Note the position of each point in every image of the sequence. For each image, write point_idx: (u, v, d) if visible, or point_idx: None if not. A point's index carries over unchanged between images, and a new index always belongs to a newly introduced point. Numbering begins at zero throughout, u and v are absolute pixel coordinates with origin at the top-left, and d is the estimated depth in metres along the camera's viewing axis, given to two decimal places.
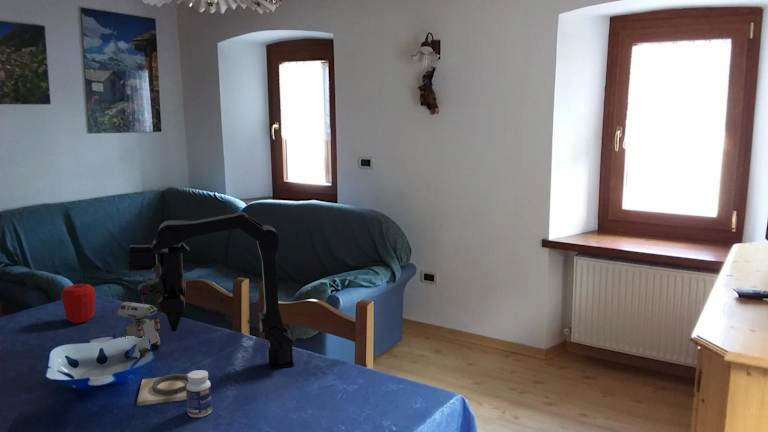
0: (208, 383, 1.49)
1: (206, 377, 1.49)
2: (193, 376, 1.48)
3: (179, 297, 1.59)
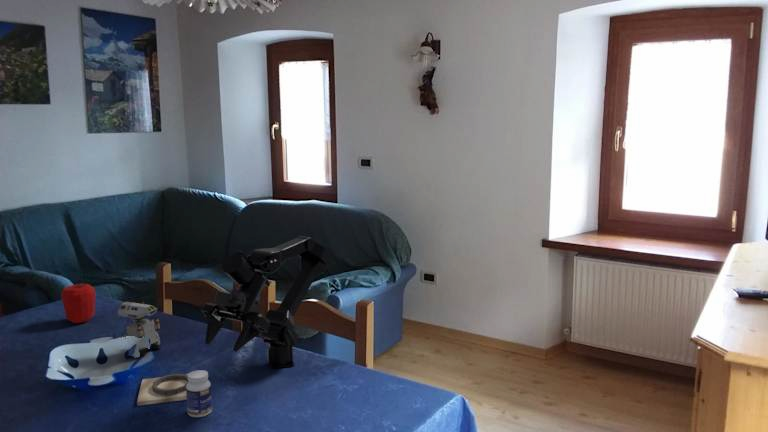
0: (208, 383, 1.49)
1: (206, 377, 1.49)
2: (193, 376, 1.48)
3: None
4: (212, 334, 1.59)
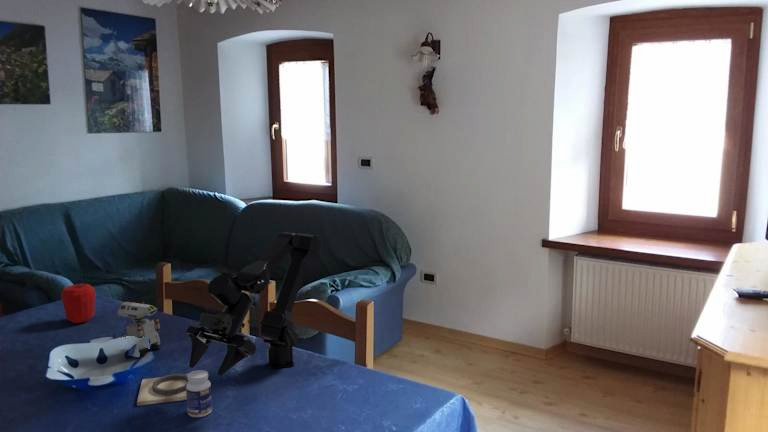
0: (208, 383, 1.49)
1: (206, 377, 1.49)
2: (193, 376, 1.48)
3: None
4: (197, 357, 1.55)
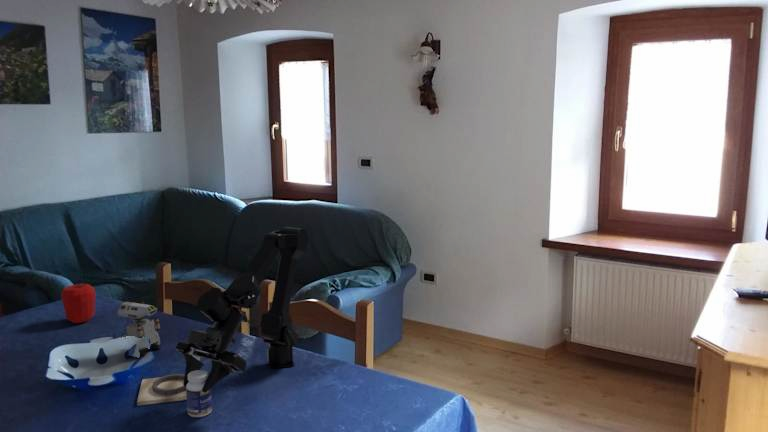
0: None
1: (206, 377, 1.49)
2: (193, 376, 1.48)
3: None
4: None
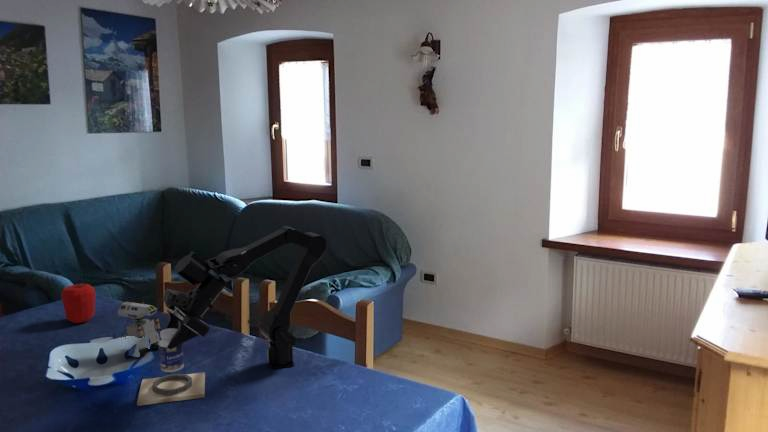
0: None
1: None
2: (163, 333, 1.57)
3: (206, 324, 1.55)
4: None
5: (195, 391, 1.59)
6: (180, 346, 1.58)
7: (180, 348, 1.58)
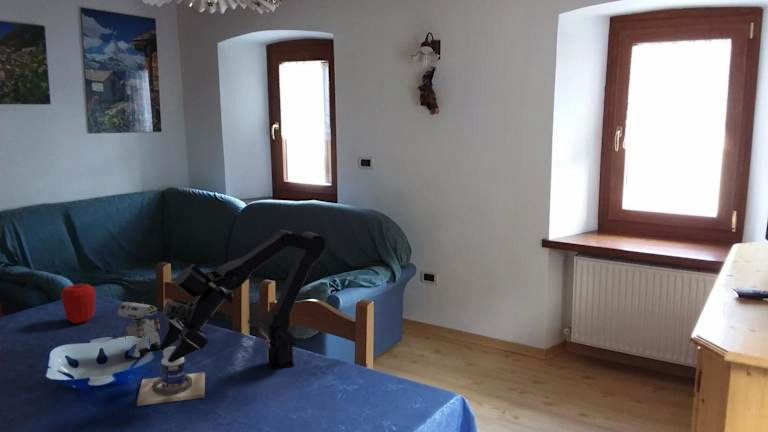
0: (179, 361, 1.60)
1: None
2: (166, 351, 1.59)
3: (205, 337, 1.57)
4: (168, 341, 1.65)
5: (195, 391, 1.59)
6: (182, 365, 1.60)
7: (182, 367, 1.60)
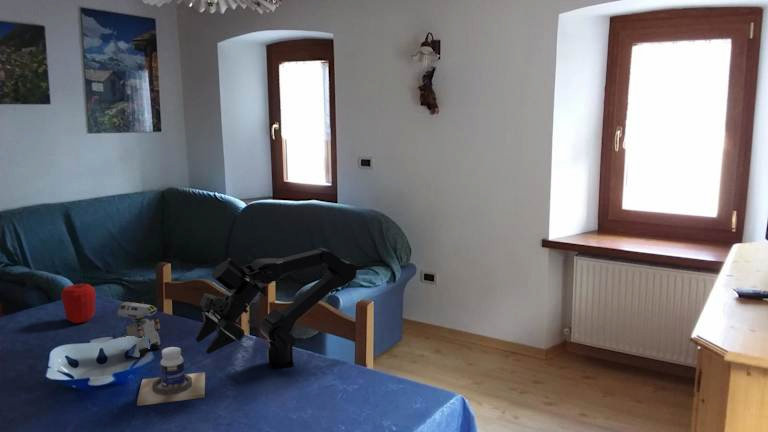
0: (178, 361, 1.59)
1: (175, 355, 1.59)
2: (164, 351, 1.59)
3: None
4: (204, 333, 1.70)
5: (195, 391, 1.59)
6: (181, 365, 1.60)
7: (181, 367, 1.60)
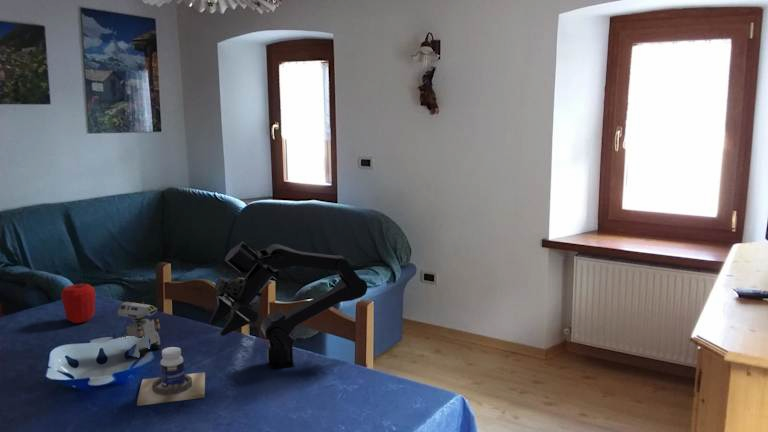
0: (178, 361, 1.59)
1: (175, 355, 1.59)
2: (165, 351, 1.59)
3: None
4: (218, 316, 1.72)
5: (195, 391, 1.59)
6: (181, 365, 1.60)
7: (181, 367, 1.60)
